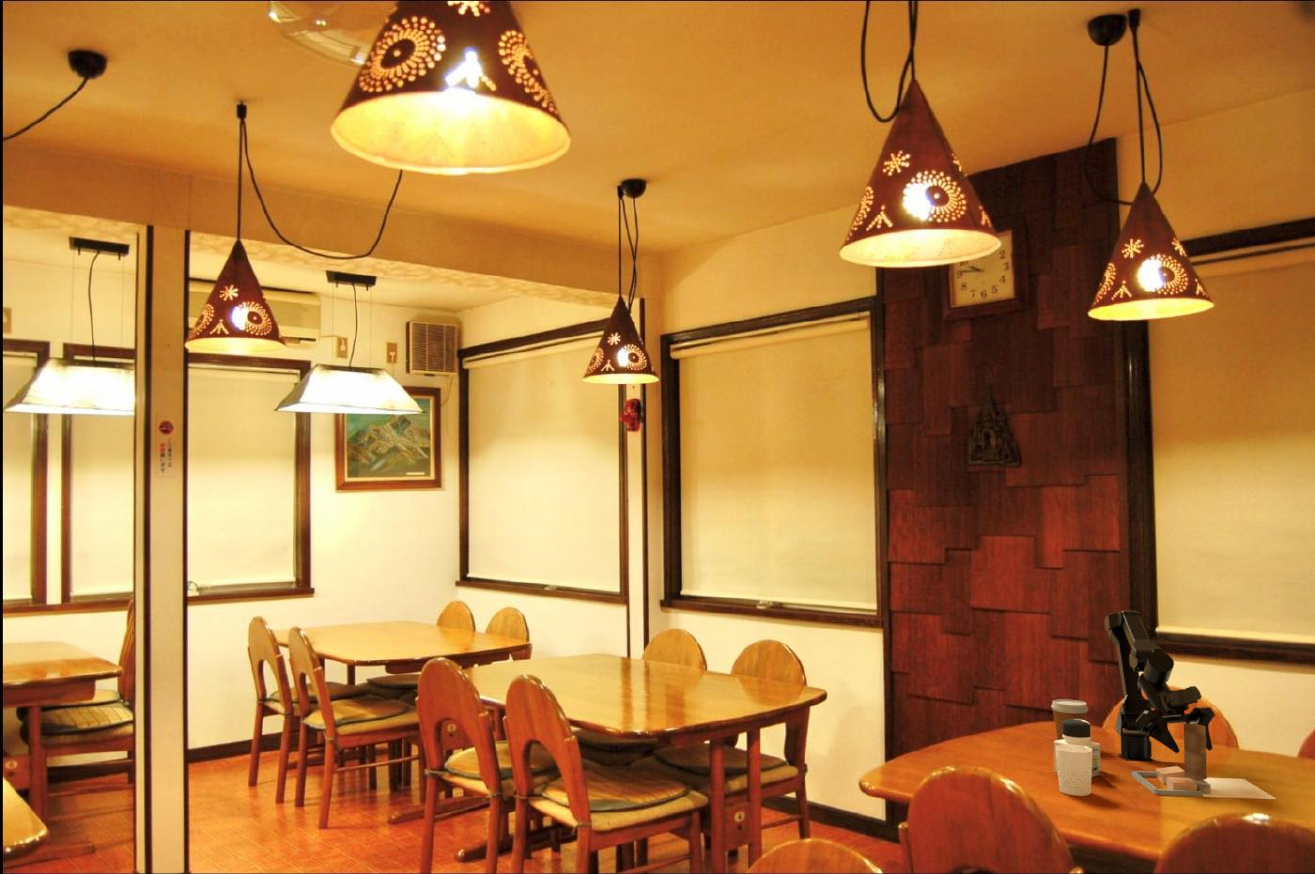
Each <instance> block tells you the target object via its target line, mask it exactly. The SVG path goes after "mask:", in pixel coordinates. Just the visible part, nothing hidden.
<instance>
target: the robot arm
mask: <svg viewBox="0 0 1315 874" xmlns="http://www.w3.org/2000/svg"><path fill="white" fill-rule="evenodd" d="M1104 628H1105V631H1106V632H1107V636H1108V639H1109V640H1110V641H1111V643H1112V644H1114V646H1115V648H1116V654H1117V659H1118V667H1119V673H1120V680H1121V686H1122V687H1121V688H1122V692H1123V693H1122V694H1123V701H1122V703H1121V704H1120V707H1119V708H1118V713H1117V717H1116V720H1115V725H1114V726H1115V733H1116V734H1118V735H1119V736H1120V753H1118V754H1117V756H1118V757H1120V758H1122V759H1124V760H1126V761H1129V762H1154V761H1155V760H1154V758H1152V756H1153V754H1152V753H1153V751H1152V750H1153V749H1152V741H1151V739H1150V738H1153V739H1154V740H1156V741H1157V742H1159V743H1160V744H1162V745H1164V747H1166V748H1168V749H1169V750H1170V751H1172V752H1173V753H1175V754H1179V752H1181V750H1180V748H1179V746H1178V744H1177V742H1176V741H1175V739H1174V737H1173V735H1172V733H1171V732H1170V730H1169V728H1168V727H1169V725H1170V724H1171V725H1172V724H1195V723H1196V724H1199V725H1202V726H1206V750H1207V751H1209V752H1210V751H1212V750H1213V743H1212V740H1211V734H1210V729H1209V727H1210V726H1209V725H1210V723H1211V722H1212V720H1213V719H1214V718H1215V717H1216V714H1215V712H1214V711H1213V709H1212V708H1211V707H1210V706H1195V707H1194V708H1193V709H1192V710H1191V711H1190V712H1189V713H1186V712H1185V711H1188V710H1189V709H1190V707H1189V705H1192V704H1197V703H1199V700H1201V699H1202V694H1201V692H1200V690H1199V688H1197V686H1196V685H1194V686H1193V685H1192V686H1189V687H1185V688H1183V689H1181V688H1180V689H1176V690H1175V689H1174V690H1172V689H1171V688H1170V686H1169V685H1168V683H1167V682H1169V680H1170V677H1171V674H1172V671H1173V669H1174V666H1175V661H1174V659H1173V658H1172V656H1170V655H1169V654H1168V653H1165V652H1163V648H1160V646H1158V645H1157V644H1156V643H1153V642H1151V640H1150V638H1149V636H1148V634H1147V631H1146V629H1145V627H1144V624H1143V622H1142V615H1141V612H1140V611H1137V610H1121V611H1118V612H1116V613H1112V612H1111V613H1109V614H1108V615H1106V616H1105V618H1104ZM1140 673H1141V674H1140ZM1143 694H1144V695H1145V697H1144V695H1143ZM1146 698H1147V699H1146ZM1168 724H1169V725H1168Z"/></svg>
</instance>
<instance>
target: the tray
mask: <svg viewBox="0 0 1315 874" xmlns="http://www.w3.org/2000/svg"><path fill="white" fill-rule="evenodd" d="M1130 776H1131V777H1133V778H1134V779H1135V780H1136V781H1138V782H1139V783H1140V784H1142V785H1143V786H1144V787H1145V788H1146V789H1148V790H1149V791H1151V793H1153V794H1154V795H1155V796H1174V797H1175V796H1178V797H1199V798H1200V797H1203V792H1202V791H1191V790H1170V789H1162V788H1161V789H1160V788H1157V787H1156V786H1155V785H1153V784H1152V783H1151V782H1149V781H1148V780H1147V779H1146V778H1144V777H1148V778H1158V777H1157V772H1156V771H1147V770H1131V771H1130ZM1203 798H1204V797H1203Z"/></svg>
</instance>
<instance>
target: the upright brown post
mask: <svg viewBox="0 0 1315 874" xmlns="http://www.w3.org/2000/svg"><path fill="white" fill-rule="evenodd" d="M1183 747H1184V749H1183V753H1184V754H1183V755H1184V770H1183V771H1184V773H1185V777H1186V778H1190V779H1191V780H1193V781H1194V782H1195V783H1196V784H1197V791H1202V792H1203V794H1211V785H1210V784H1209V783H1207V782H1206V781H1205V780H1203V779H1207V778H1208V777H1207V774H1208V773H1207V748H1206V726H1202V725H1199V724H1196V723H1195V724H1186V723H1183Z"/></svg>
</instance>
